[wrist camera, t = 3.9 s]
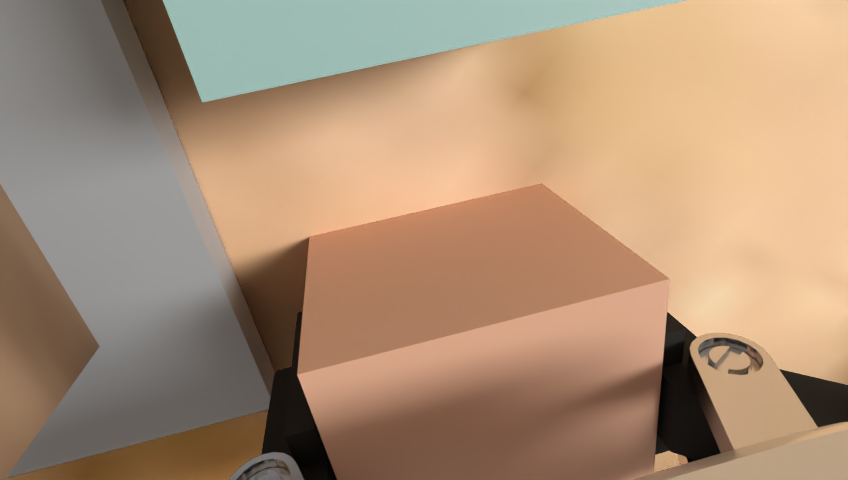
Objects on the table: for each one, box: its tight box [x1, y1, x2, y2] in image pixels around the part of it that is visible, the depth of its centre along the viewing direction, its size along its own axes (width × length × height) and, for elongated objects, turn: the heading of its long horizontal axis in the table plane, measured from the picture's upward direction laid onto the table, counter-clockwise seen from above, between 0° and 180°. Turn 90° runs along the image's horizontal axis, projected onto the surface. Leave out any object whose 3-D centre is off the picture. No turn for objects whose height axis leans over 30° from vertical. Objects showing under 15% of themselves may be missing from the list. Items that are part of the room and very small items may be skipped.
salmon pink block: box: [297, 184, 670, 480], centre depth 11 cm, size 6×6×5 cm
